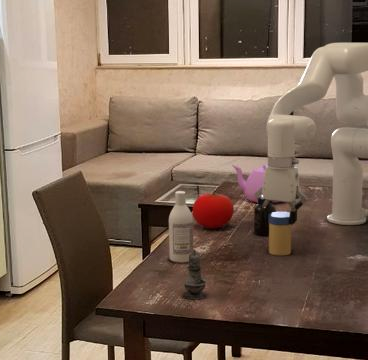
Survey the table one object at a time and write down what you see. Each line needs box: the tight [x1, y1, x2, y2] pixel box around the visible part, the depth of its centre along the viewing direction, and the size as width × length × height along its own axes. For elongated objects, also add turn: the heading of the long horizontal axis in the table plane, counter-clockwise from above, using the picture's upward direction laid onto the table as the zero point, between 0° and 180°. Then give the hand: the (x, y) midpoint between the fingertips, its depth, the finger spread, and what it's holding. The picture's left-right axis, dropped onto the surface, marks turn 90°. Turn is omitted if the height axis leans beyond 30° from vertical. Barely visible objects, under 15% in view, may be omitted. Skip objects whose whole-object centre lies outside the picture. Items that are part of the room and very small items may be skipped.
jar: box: [268, 223, 292, 256], centre depth 218 cm, size 6×6×11 cm
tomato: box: [192, 192, 235, 230], centre depth 247 cm, size 13×14×12 cm
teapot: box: [231, 163, 281, 204], centre depth 282 cm, size 22×22×14 cm
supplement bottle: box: [253, 196, 277, 237], centre depth 237 cm, size 7×7×12 cm
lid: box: [268, 211, 290, 225], centre depth 217 cm, size 7×7×2 cm
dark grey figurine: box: [182, 248, 207, 300], centre depth 185 cm, size 6×6×12 cm
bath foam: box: [168, 190, 194, 264], centre depth 213 cm, size 7×7×20 cm
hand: (280, 221), depth 217 cm, fingers closed on lid, 6 cm apart
